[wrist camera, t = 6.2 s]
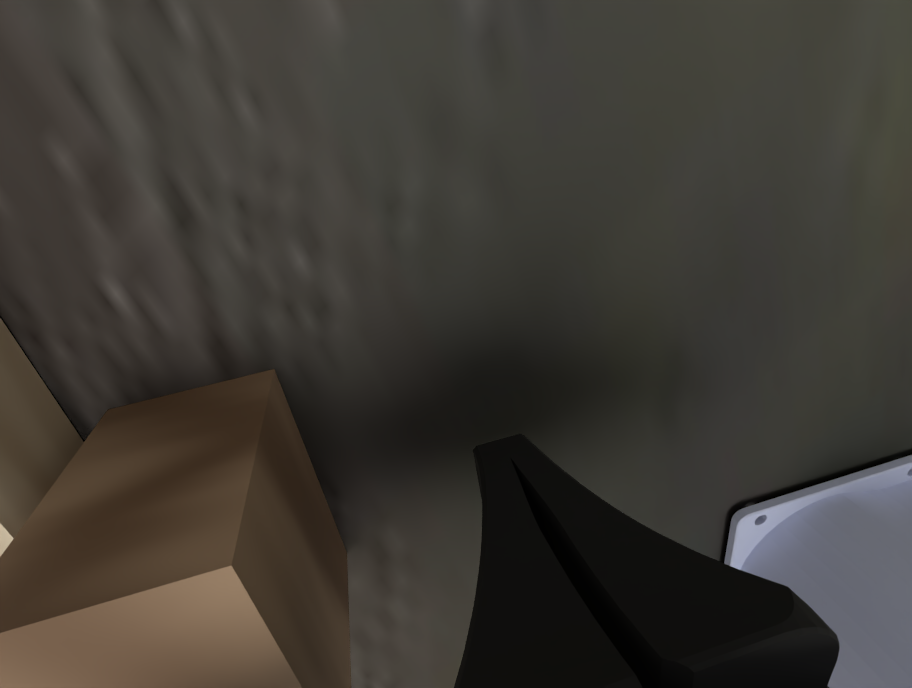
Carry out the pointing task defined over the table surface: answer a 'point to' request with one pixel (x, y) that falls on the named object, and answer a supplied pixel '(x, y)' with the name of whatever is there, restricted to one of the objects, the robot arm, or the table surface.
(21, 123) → the table surface
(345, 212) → the table surface
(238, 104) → the table surface
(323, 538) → the walnut block
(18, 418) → the maple board
